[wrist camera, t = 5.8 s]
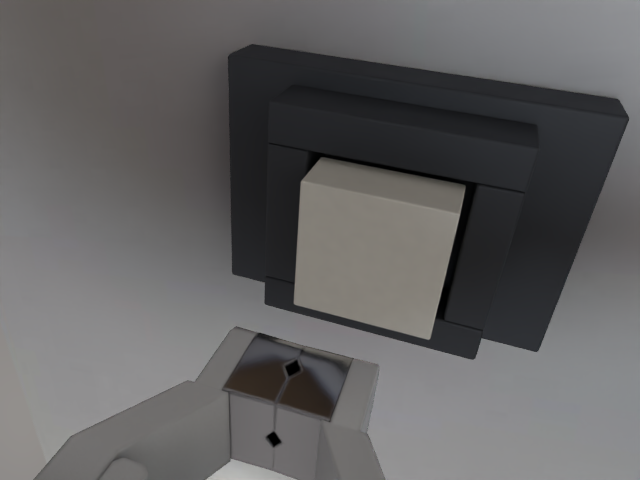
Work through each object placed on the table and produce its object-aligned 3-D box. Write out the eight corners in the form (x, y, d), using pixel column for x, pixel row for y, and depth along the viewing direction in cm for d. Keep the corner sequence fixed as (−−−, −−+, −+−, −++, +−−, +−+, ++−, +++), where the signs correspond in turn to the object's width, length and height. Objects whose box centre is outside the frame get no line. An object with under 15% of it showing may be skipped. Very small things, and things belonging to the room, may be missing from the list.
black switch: (250, 252, 21) (208, 303, 18) (250, 43, 17) (196, 67, 14) (536, 321, 19) (539, 393, 16) (620, 98, 15) (644, 142, 12)
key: (312, 272, 17) (292, 304, 16) (321, 155, 15) (300, 181, 13) (437, 303, 16) (429, 340, 15) (466, 184, 14) (460, 214, 13)
